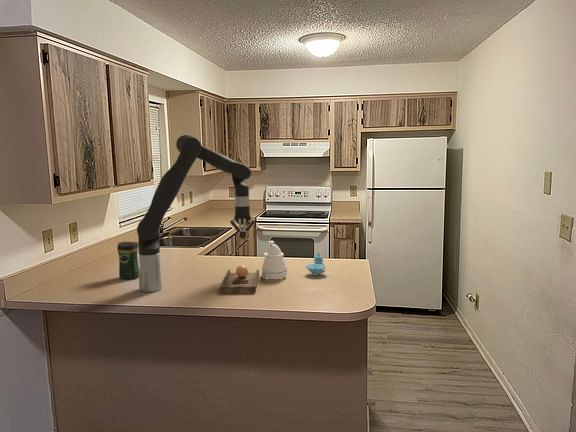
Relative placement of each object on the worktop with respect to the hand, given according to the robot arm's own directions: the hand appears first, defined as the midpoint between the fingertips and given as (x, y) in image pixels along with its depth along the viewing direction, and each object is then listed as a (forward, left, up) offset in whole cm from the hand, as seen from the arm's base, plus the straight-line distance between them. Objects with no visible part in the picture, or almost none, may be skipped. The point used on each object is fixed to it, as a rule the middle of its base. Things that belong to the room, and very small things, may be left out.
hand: (243, 238), depth 224 cm
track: (0, -16, -19) cm, 25 cm away
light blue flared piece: (+38, +2, -19) cm, 43 cm away
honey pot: (+16, -4, -19) cm, 25 cm away
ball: (0, -10, -14) cm, 18 cm away
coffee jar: (-58, -3, -19) cm, 61 cm away
